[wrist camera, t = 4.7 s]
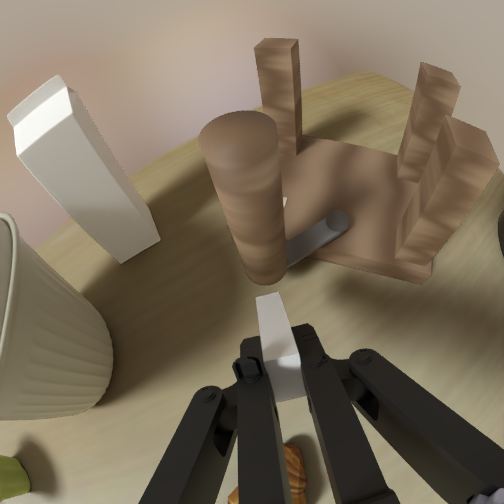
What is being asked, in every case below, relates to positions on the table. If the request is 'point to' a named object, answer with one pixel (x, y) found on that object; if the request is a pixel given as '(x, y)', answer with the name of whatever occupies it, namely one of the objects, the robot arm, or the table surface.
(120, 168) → the milk
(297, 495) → the croissant
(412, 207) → the stool seat
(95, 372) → the canister
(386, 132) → the table surface
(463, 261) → the table surface
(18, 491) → the plant pot
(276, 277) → the hinged leg
